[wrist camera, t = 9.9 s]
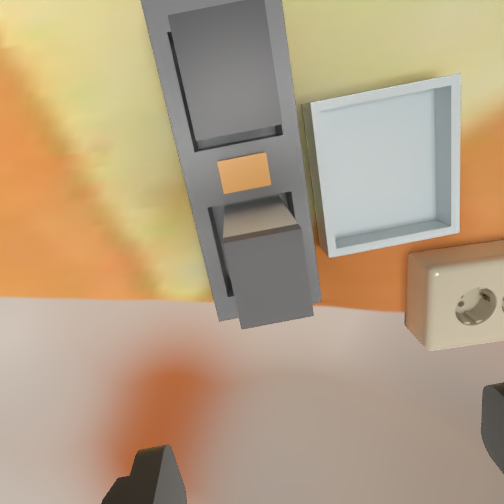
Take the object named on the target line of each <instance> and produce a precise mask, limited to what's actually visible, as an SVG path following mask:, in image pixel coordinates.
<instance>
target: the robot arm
mask: <svg viewBox="0 0 504 504" xmlns="http://www.w3.org/2000/svg"><path fill="white" fill-rule="evenodd" d="M481 434H482V439H483V442H484V445H485V447H486V449H487V451H488V453H489V455H490V457H491V458H492V459H493V461H494V462H495V463H496V465H497V466H498V467H499V469H500V470H501V471H502V472H503V474H504V383H499V384H493V385H488V386H485V387H484V389H483V397H482V423H481ZM101 504H187V500H186V491H185V487H184V483H183V480H182V477H181V475H180V472H179V469H178V466H177V463H176V460H175V457H174V454H173V451H172V448H171V447H170V445H163V446H158V447H152V448H147V449H142V450H139V451H138V452H137V454H136V456H135V459H134V463H133V466H132V470H131V473H130V476H126V477H121V478H118V479H117V480H116V482H115V483H114V484H113V486H112V487H111V489H110V491H109V492H108V493H107V495H106V496H105V497H104V499H103V500H102V503H101Z"/></svg>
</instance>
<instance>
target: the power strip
mask: <svg viewBox="0 0 504 504" xmlns="http://www.w3.org/2000/svg"><path fill="white" fill-rule="evenodd" d="M141 4H142V8H143V12H144V16H145V20H146V25H147V29H148V33H149V37H150V41H151V45H152V49H153V53H154V57H155V61H156V65H157V70H158V74H159V78H160V82H161V86H162V90H163V94H164V98H165V102H166V106H167V110H168V115H169V119H170V123H171V127H172V131H173V135H174V139H175V143H176V147H177V151H178V155H179V160H180V164H181V168H182V172H183V176H184V180H185V184H186V188H187V192H188V196H189V200H190V205H191V209H192V213H193V217H194V221H195V225H196V229H197V233H198V237H199V241H200V245H201V250H202V254H203V258H204V262H205V266H206V270H207V274H208V278H209V282H210V286H211V290H212V295H213V299H214V303H215V306H216V311H217V315H218V319H219V321H224V320H230V319H234V318H239V315H238V311H237V306H236V302H235V297H234V292H233V288H232V283H231V279H230V274H229V269H228V265H227V260H226V256H225V251H224V246H223V230H224V207H225V206H228V205H233V204H238V203H244V202H249V201H254V200H259V199H265V198H270V197H275V196H279V198H280V199H281V200H282V202H283V203H284V205H285V206H286V207H287V209H288V210H289V212H290V213H291V214H292V216H293V217H294V219H295V220H296V221H297V223H298V224H299V226H300V227H301V228H302V235H303V242H304V249H305V256H306V263H307V271H308V278H309V285H310V292H311V300H312V303H317V302H322V299H321V292H320V284H319V277H318V269H317V262H316V254H315V247H314V239H313V232H312V224H311V217H310V209H309V202H308V194H307V187H306V179H305V172H304V164H303V157H302V149H301V141H300V134H299V126H298V119H297V111H296V104H295V96H294V89H293V81H292V74H291V66H290V59H289V51H288V44H287V36H286V29H285V21H284V14H283V6H282V0H141Z"/></svg>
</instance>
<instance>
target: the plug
mask: <svg viewBox="0 0 504 504" xmlns="http://www.w3.org/2000/svg"><path fill="white" fill-rule="evenodd" d="M223 246H224V251H225V256H226V260H227V265H228V269H229V274H230V279H231V283H232V288H233V292H234V297H235V302H236V306H237V311H238V315H239V319H240V325H241V329H247V328H252V327H257V326H262V325H267V324H273V323H278V322H283V321H289V320H294V319H299V318H304V317H310V316H313V307H312V300H311V292H310V285H309V278H308V271H307V263H306V256H305V249H304V242H303V235H302V228H301V227H300V226H299V224H298V223H297V221H296V220H295V219H294V217H293V216H292V214H291V213H290V212H289V210H288V209H287V207H286V206H285V205H284V203H283V202H282V200H281V199H280V198H279V196H275V197H270V198H265V199H259V200H254V201H249V202H244V203H238V204H233V205H228V206H225V207H224V230H223Z"/></svg>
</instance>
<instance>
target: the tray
mask: <svg viewBox="0 0 504 504" xmlns="http://www.w3.org/2000/svg"><path fill="white" fill-rule="evenodd" d="M302 110H303V118H304V126H305V134H306V142H307V150H308V157H309V165H310V173H311V181H312V189H313V196H314V204H315V212H316V220H317V228H318V236H319V243H320V247H321V248H322V250H323V251H324V252H325V253H326V255H327V256H328V257H329V258H332V257H337V256H342V255H348V254H353V253H358V252H363V251H368V250H373V249H378V248H384V247H389V246H394V245H399V244H404V243H409V242H414V241H420V240H425V239H430V238H435V237H440V236H445V235H450V234H455V233H459V231H460V116H461V73H458V74H453V75H448V76H443V77H438V78H433V79H428V80H423V81H417V82H412V83H407V84H402V85H397V86H392V87H387V88H382V89H377V90H371V91H366V92H361V93H356V94H351V95H346V96H341V97H336V98H330V99H325V100H320V101H315V102H310V103H307V104H303V105H302Z"/></svg>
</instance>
